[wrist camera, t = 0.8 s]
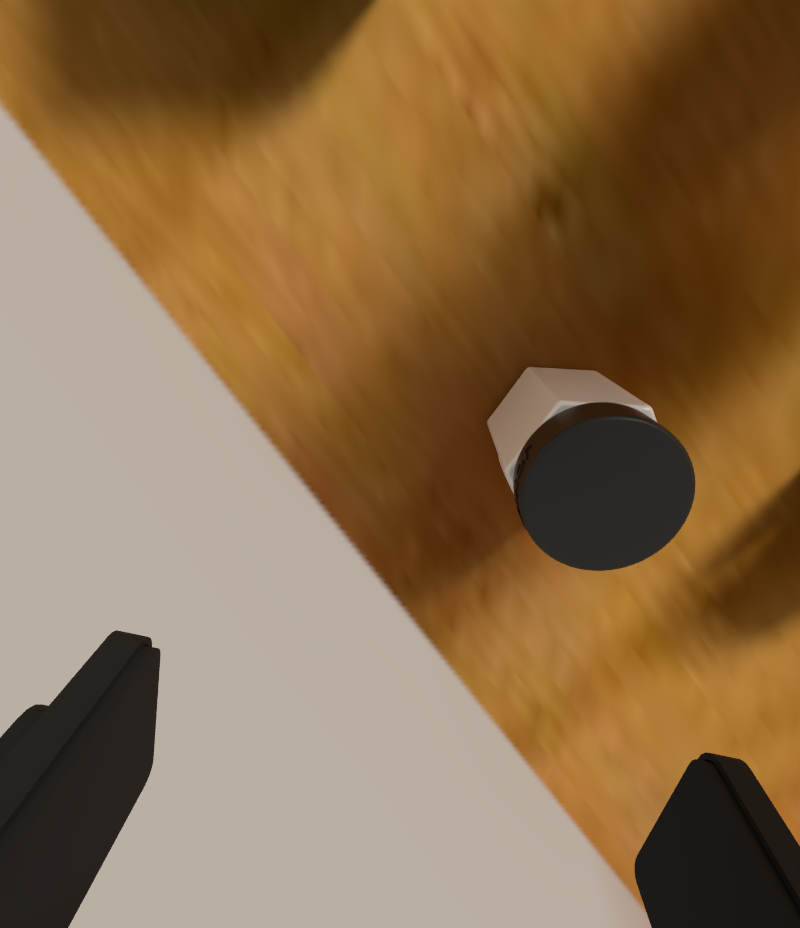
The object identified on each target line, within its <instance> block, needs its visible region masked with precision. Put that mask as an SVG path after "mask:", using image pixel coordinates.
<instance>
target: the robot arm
mask: <svg viewBox="0 0 800 928" xmlns="http://www.w3.org/2000/svg"><path fill="white" fill-rule="evenodd" d="M159 667H160V650H159V649H158V648H153V647H152V642H151V638H149V637H145V636H141V635H136V634H131V633H126V632H121V631H114V632H112V633H111V634H110V635H109V636H108V637H107V638H106V639H105V641H104V642H103V643H102V644H101V645H100V647H99V648H98V649H97V650H96V651H95V652H94V654H93V655H92V656H91V657H90V658H89V659H88V661H87V662H86V663H85V664H84V665H83V666H82V668H81V669H80V670H79V671H78V672H77V674H76V675H75V676H74V677H73V678H72V679H71V681H70V682H69V683H68V684H67V685H66V686H65V688H64V689H63V690H62V691H61V693H60V694H59V695H58V696H57V697H56V698H55V699H54V701H53V702H52V703H51V704H50V705H49V706H46V705H34V706H32V707H30V708H29V709H27V710H26V711H25V712H24V713H23V714H22V715H21V716H20V717H19V718H18V719H17V720H16V721H15V722H14V723H13V724H12V725H11V726H10V728H9V729H8V730H7V731H6V732H5V733H4V734H3V735H2V737H1V738H0V928H68V926H69V925H70V923H71V921H72V920H73V918H74V916H75V914H76V912H77V910H78V908H79V907H80V904H81V903H82V901H83V899H84V897H85V895H86V894H87V892H88V890H89V888H90V886H91V884H92V882H93V881H94V879H95V877H96V875H97V873H98V871H99V869H100V868H101V866H102V864H103V862H104V860H105V858H106V857H107V855H108V853H109V851H110V849H111V847H112V845H113V844H114V842H115V840H116V838H117V836H118V834H119V832H120V831H121V829H122V827H123V825H124V823H125V821H126V819H127V818H128V816H129V814H130V812H131V810H132V808H133V806H134V805H135V803H136V801H137V799H138V797H139V795H140V793H141V792H142V790H143V788H144V786H145V784H146V782H147V780H148V777H149V774H150V771H151V768H152V764H153V756H154V741H155V725H156V711H157V697H158V681H159ZM635 877H636V882H637V885H638V888H639V891H640V894H641V897H642V900H643V903H644V906H645V909H646V912H647V915H648V918H649V921H650V924H651V927H652V928H800V846H799V845H798V843H797V841H796V840H795V838H794V837H793V835H792V834H791V832H790V830H789V829H788V827H787V826H786V824H785V823H784V821H783V819H782V818H781V816H780V815H779V813H778V812H777V810H776V808H775V807H774V805H773V804H772V802H771V801H770V799H769V797H768V796H767V794H766V793H765V791H764V790H763V788H762V786H761V785H760V783H759V782H758V780H757V779H756V777H755V775H754V774H753V772H752V771H751V769H750V768H749V767H748V765H747V764H746V763H745V762H743V761H742V760H740V759H736V758H731V757H726V756H721V755H717V754H712V753H704V754H701V756H700V757H699V758H698V759H697V760H696V759H695V760H693V761H691V763H690V764H689V765H688V767H687V769H686V771H685V772H684V774H683V776H682V778H681V780H680V781H679V783H678V785H677V787H676V788H675V790H674V792H673V794H672V795H671V797H670V799H669V801H668V802H667V804H666V806H665V808H664V809H663V811H662V813H661V815H660V816H659V818H658V820H657V822H656V823H655V825H654V827H653V829H652V831H651V832H650V834H649V836H648V838H647V839H646V841H645V843H644V845H643V846H642V848H641V850H640V852H639V853H638V855H637V858H636V861H635Z"/></svg>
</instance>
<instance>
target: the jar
mask: <svg viewBox="0 0 800 928" xmlns="http://www.w3.org/2000/svg"><path fill="white" fill-rule="evenodd" d="M487 425H488V428H489V431H490V434H491V437H492V439H493V442H494V445H495V448H496V450H497V453H498V456H499V458H498V459H499V461H500V465H501V468H502V470H503V472H504V474H505V477H506V479H507V481H508V483H509V485H510V487H511V490H512V492H513V494H514V496H515V502H516V506H517V510H518V513H519V516H520V518H521V521H522V523H523V525H524V527H525V529H526V530H527V531H528V533H529V535H530V536H531V538H532V539H533V541H534V542H535V543H536V544H537V545H538V547H539V548H540V549H541V550H543V551H544V552H545V553H546V554H547V555H549V556H550V557H552V558H553V559H555V560H557V561H559V562H561V563H563V564H565V565H568V566H571V567H574V568H578V569H584V570H593V571H604V570H613V569H619V568H623V567H627V566H630V565H633V564H636V563H638V562H640V561H643V560H645V559H646V558H648V557H650V556H652V555H653V554H655V553H656V552H658V551H659V550H660V549H662V548H663V547H664V546H665V545H666V544H668V543H669V542H670V541H671V540H672V539H673V537H674V536H675V535H676V534H677V533H678V531H679V530H680V529H681V527H682V526H683V524H684V522H685V521H686V519H687V517H688V515H689V512H690V510H691V507H692V503H693V500H694V494H695V475H694V469H693V465H692V462H691V460H690V457H689V455H688V453H687V451H686V450H685V448H684V447H683V445H682V444H681V442H680V441H679V440H678V439H677V438H676V437H675V436H674V435H673V434H672V433H671V432H669V431H668V430H667V429H666V428H664V427H663V426H661V425H660V424H658V423H657V420H656V417H655V415H654V412H653V409H652V407H651V406H649V405H648V404H646V403H645V402H643V401H642V400H640V399H639V398H637V397H635V396H634V395H632V394H631V393H629V392H628V391H626V390H625V389H623V388H622V387H620V386H619V385H617V384H616V383H614V382H613V381H611V380H610V379H608V378H606V377H605V376H603V375H602V374H600V373H599V372H597V371H592V370H574V369H557V368H540V367H528V368H526V369H525V371H524V372H523V373H522V375H521V376H520V377H519V379H518V380H517V382H516V383H515V384H514V386H513V387H512V388H511V390H510V391H509V392H508V394H507V395H506V396H505V398H504V399H503V400H502V402H501V403H500V404H499V406H498V407H497V409H496V410H495V411H494V413H493V414H492V415H491V417H490V418H489V419H488V421H487Z"/></svg>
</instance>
